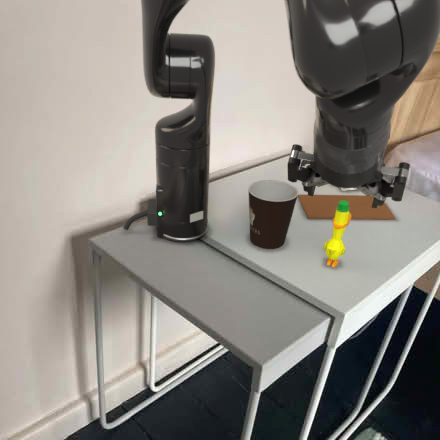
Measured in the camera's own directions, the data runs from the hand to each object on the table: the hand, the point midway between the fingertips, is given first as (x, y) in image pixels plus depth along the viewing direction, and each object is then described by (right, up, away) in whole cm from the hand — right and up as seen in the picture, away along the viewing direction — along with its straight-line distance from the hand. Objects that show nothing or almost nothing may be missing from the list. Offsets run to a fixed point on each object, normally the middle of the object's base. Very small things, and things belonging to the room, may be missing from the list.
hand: (343, 195), depth 67 cm
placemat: (+9, +4, +37) cm, 38 cm away
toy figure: (+3, -8, +19) cm, 21 cm away
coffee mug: (-8, -3, +26) cm, 27 cm away
